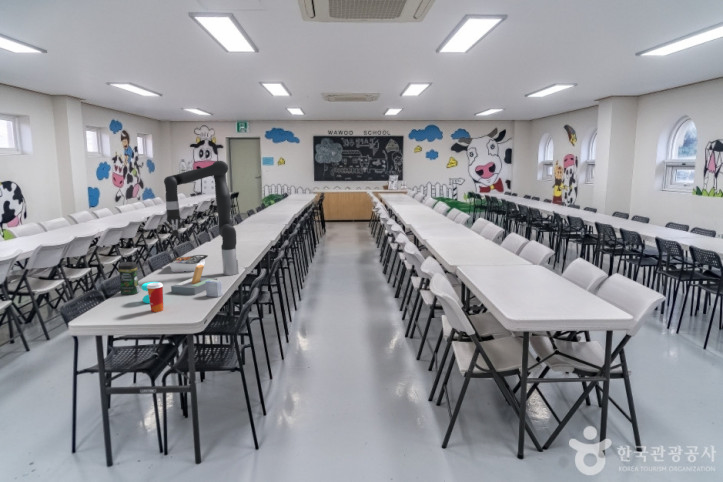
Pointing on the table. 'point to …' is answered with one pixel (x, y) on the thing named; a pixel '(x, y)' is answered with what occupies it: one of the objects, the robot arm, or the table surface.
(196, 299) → the table surface
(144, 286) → the donuts
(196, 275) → the breaker lever
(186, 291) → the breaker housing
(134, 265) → the coffee jar
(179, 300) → the table surface
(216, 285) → the medicine box
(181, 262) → the food packaging
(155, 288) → the paper cup
